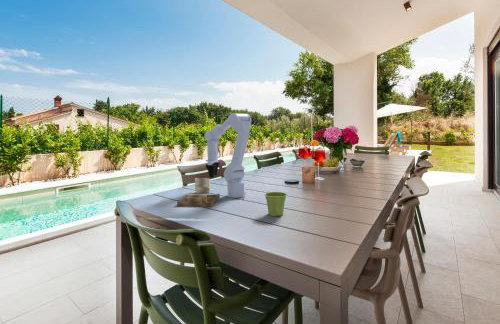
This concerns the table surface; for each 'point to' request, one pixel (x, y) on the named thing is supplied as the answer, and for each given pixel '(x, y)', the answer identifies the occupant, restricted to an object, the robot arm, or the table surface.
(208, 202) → the walnut rack
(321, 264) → the table surface
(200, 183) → the birch block
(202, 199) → the oak offcuts
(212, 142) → the robot arm
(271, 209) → the plant pot
